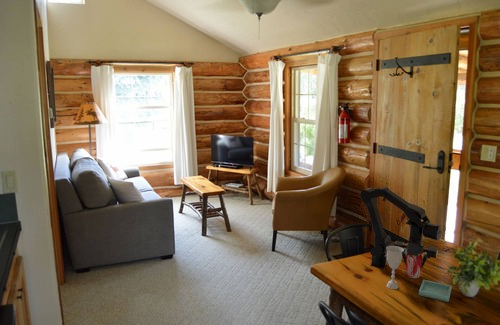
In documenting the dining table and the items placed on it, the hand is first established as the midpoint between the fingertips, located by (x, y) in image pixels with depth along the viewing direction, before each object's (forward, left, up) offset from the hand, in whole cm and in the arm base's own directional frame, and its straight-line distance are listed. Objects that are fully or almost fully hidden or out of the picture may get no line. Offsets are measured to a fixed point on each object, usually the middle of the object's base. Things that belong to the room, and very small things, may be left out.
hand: (413, 266), depth 186 cm
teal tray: (+11, -11, -5) cm, 16 cm away
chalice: (-6, -15, -5) cm, 17 cm away
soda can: (0, 0, -5) cm, 5 cm away
